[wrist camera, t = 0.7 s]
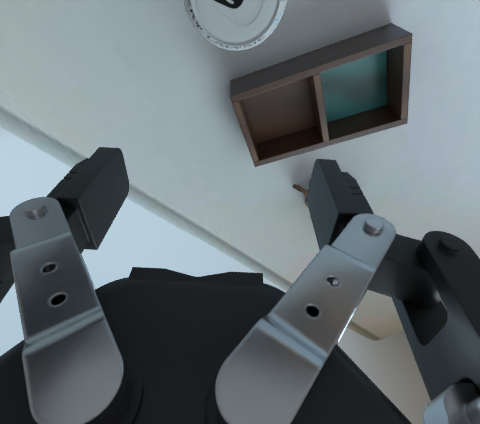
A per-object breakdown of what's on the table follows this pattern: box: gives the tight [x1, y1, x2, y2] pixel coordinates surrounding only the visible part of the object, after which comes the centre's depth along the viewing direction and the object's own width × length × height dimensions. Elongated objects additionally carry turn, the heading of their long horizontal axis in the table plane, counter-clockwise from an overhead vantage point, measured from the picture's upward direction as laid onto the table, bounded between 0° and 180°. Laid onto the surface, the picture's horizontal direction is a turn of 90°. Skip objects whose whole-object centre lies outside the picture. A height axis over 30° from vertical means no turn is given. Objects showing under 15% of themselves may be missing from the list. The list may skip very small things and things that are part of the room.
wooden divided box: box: [230, 23, 412, 167], centre depth 32 cm, size 9×17×5 cm, turn 109°
